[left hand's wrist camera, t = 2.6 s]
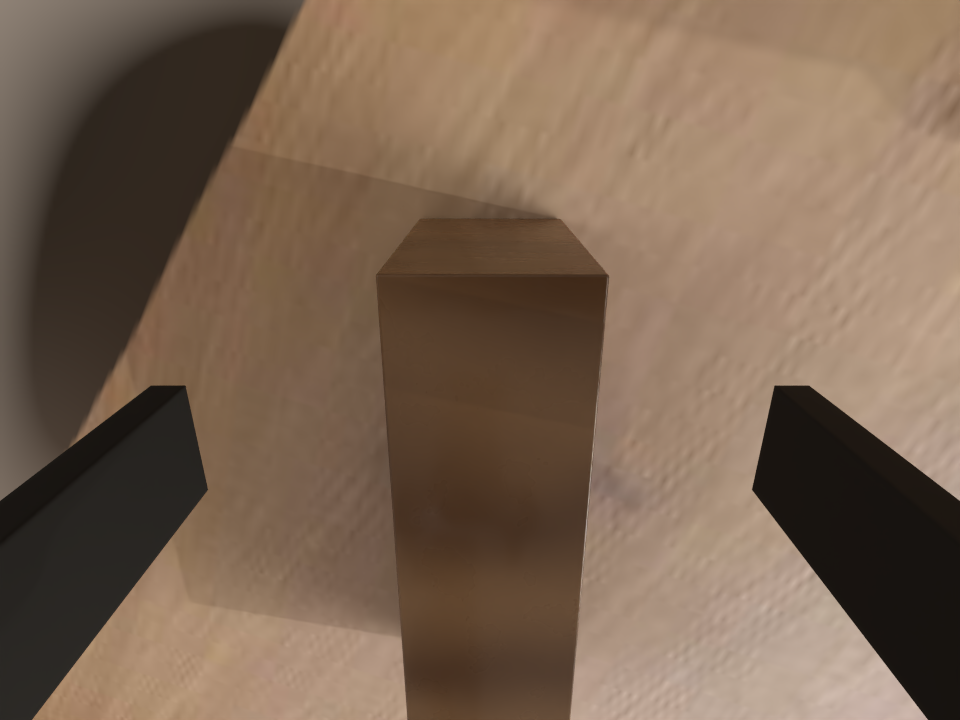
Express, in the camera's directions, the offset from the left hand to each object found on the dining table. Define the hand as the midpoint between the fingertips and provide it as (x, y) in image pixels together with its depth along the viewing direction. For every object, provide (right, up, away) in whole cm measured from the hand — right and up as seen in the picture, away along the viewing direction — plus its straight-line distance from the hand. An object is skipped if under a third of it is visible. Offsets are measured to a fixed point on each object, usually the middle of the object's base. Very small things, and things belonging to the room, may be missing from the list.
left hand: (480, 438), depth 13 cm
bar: (0, -3, +13) cm, 13 cm away
